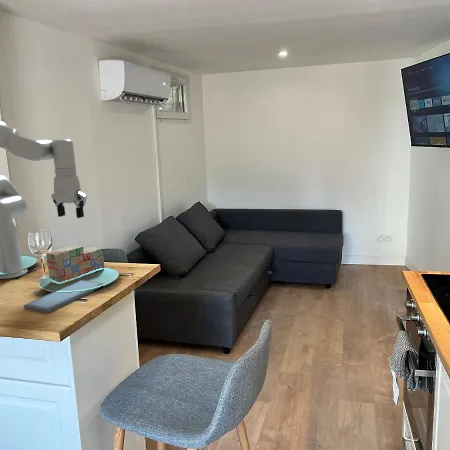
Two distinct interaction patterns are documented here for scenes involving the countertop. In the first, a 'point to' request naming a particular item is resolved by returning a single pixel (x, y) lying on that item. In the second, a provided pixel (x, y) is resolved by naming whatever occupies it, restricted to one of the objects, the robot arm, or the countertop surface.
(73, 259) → the stack of blocks
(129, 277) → the countertop surface
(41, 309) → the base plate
